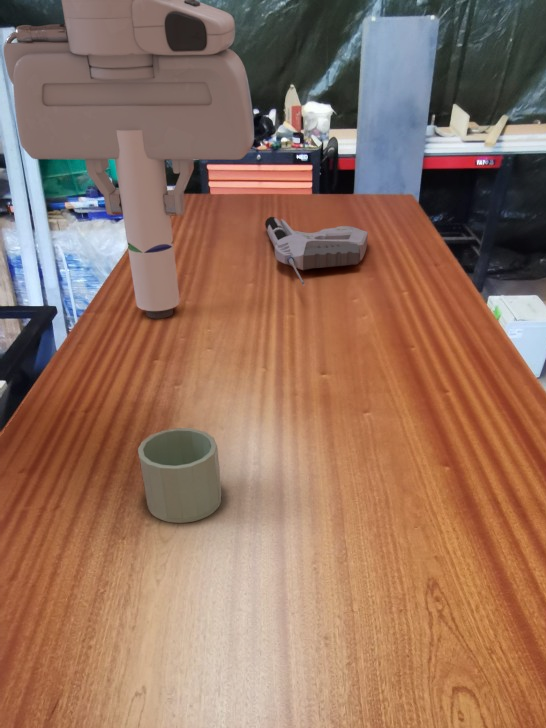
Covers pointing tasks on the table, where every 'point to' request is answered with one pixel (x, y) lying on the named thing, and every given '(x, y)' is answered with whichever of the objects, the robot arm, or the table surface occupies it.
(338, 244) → the power tool
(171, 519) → the pale green hollow cylinder
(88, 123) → the robot arm
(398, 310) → the table surface
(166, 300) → the tube
